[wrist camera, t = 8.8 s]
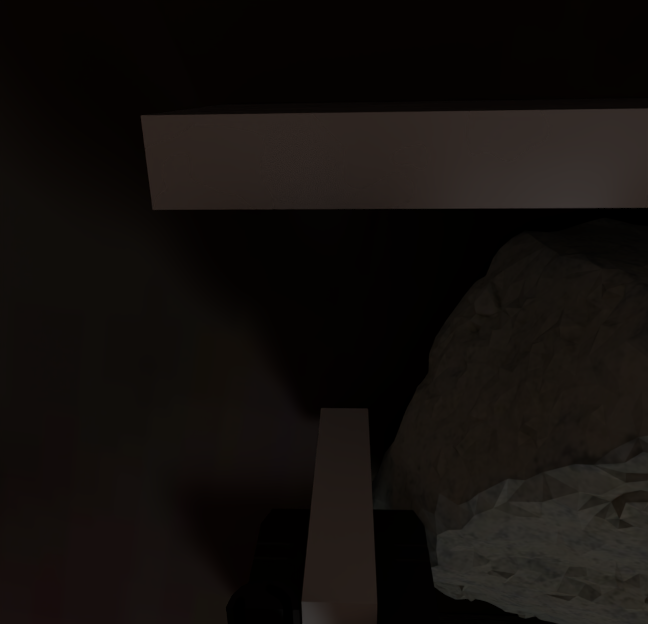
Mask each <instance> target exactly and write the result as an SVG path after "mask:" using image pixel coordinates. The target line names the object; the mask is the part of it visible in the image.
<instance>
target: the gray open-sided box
mask: <svg viewBox="0 0 648 624" xmlns="http://www.w3.org/2000/svg"><path fill="white" fill-rule="evenodd" d="M141 122H142V130H143V138H144V146H145V154H146V161H147V169H148V177H149V185H150V193H151V201H152V209H153V210H218V209H466V208H648V98H613V99H545V100H477V101H409V102H341V103H272V104H222V105H214V106H207V107H199V108H192V109H185V110H177V111H170V112H162V113H155V114H148V115H141ZM439 618H440V621H441V624H558V623H553V622H549V621H544V620H540V619H538V618H537V617H529V618H526V619H525V618H522V617H519V616H500V615H473V614H445V613H439Z"/></svg>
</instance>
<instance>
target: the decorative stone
mask: <svg viewBox="0 0 648 624" xmlns="http://www.w3.org/2000/svg"><path fill="white" fill-rule="evenodd" d="M428 361H429V371H428V374H427V375H426V377H425V378H424V380H423V381H422V382H421V383H420V384H419V385H418V386H417V388H416V391H415V394H414V396H413V398H412V399H411V401H410V403H409V405H408V407H407V409H406V411H405V414H404V416H403V419H402V422H401V424H400V427H399V430H398V432H397V435H396V438H395V440H394V442H393V443H392V445H391V446H390V447H389V449H388V450H387V451H386V452H385V454H384V457H383V459H382V462H381V465H380V468H379V471H378V473H377V475H376V477H375V479H374V481H373V484H372V503H373V509H384V510H413V511H414V512H415V513H416V515H417V516H418V518H419V519H420V520H421V522H422V523H423V525H424V526H425V532H426V539H427V547H428V551H429V557H430V563H431V569H432V575H433V581H434V587H435V588H437V589H438V590H439V591H441V592H442V593H443V594H445V595H447V596H449V597H452V598H454V599H469V600H470V601H473V600H475V599H478V600H482V601H486V602H489V603H491V604H493V605H495V606H497V607H499V608H501V609H503V610H504V611H505V612H510V613H515V614H518V615H519V617H522V618H525V619H526V618H529V617H533V616H536V617H537V618H538V619H540V620H544V621H549V622H553V623H558V624H648V226H644V225H633V224H629V223H625V222H622V221H618V220H614V219H609V218H605V217H604V218H600V219H597V220H593V221H590V222H586V223H583V224H579V225H576V226H573V227H569V228H566V229H563V230H559V231H554V232H538V231H523V232H522V233H520V234H518V235H516V236H515V237H513V238H512V239H510V240H509V241H508V242H507V243H506V244H505V245H503V246H502V247H501V248H500V249H499V250H498V252H497V253H496V255H495V256H494V258H493V259H492V262H491V264H490V267H489V269H488V272H487V274H486V276H485V277H483V278H481V279H479V280H478V281H476V282H475V283H474V284H473V285H472V287H471V288H470V289H469V290H468V291H467V293H466V294H465V295H464V297H463V298H462V299H461V301H460V302H459V303H458V305H457V306H456V308H455V309H454V310H453V312H452V313H451V314H450V316H449V317H448V318H447V320H446V321H445V323H444V325H443V326H442V328H441V329H440V331H439V332H438V334H437V335H436V337H435V340H434V342H433V345H432V348H431V350H430V353H429V360H428Z"/></svg>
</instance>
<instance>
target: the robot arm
mask: <svg viewBox="0 0 648 624" xmlns="http://www.w3.org/2000/svg"><path fill="white" fill-rule="evenodd" d="M226 611H227V621H228V624H441V621H440V618H439V612H438V606H437V600H436V594H435V588H434V581H433V575H432V569H431V563H430V557H429V551H428V547H427V539H426V532H425V526H424V525H423V523H422V522H421V520H420V519H419V518H418V516H417V515H416V513H415V512H414V511H413V510H384V509H373V503H372V482H371V461H370V440H369V419H368V408H321V413H320V423H319V433H318V442H317V452H316V462H315V472H314V482H313V492H312V502H311V509H272V510H271V512H270V513H269V514H268V516H267V517H266V518H265V519H264V521H263V522H262V523H261V527H260V532H259V536H258V541H257V546H256V551H255V555H254V560H253V565H252V570H251V574H250V579H249V583H248V584H246V585H244V586H242V587H240V588H239V589H238V590H237V591H236V592H235V593H234V594H233V595H232V596H231V598H230V600H229V602H228V604H227V607H226Z"/></svg>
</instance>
